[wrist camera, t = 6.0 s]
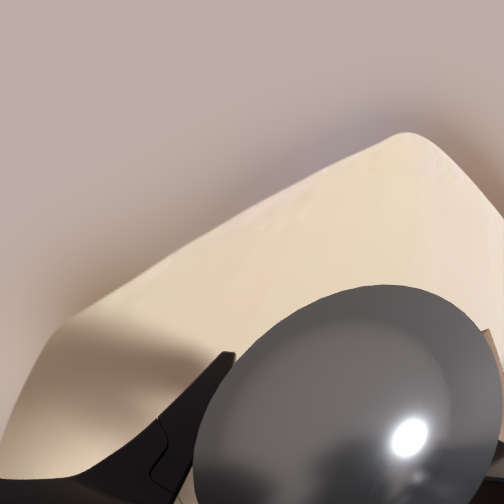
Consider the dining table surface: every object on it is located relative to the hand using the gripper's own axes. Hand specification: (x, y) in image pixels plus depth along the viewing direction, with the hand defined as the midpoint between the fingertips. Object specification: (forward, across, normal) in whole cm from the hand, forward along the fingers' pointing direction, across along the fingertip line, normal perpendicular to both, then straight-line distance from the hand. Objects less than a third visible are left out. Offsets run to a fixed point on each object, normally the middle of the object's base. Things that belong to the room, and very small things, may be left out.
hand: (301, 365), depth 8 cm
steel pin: (+4, 0, +6) cm, 7 cm away
